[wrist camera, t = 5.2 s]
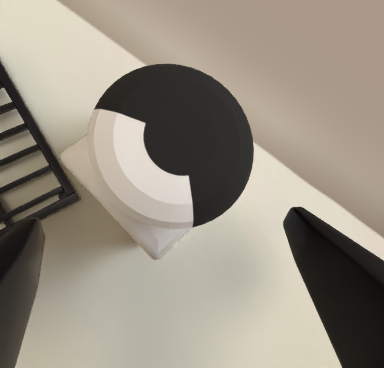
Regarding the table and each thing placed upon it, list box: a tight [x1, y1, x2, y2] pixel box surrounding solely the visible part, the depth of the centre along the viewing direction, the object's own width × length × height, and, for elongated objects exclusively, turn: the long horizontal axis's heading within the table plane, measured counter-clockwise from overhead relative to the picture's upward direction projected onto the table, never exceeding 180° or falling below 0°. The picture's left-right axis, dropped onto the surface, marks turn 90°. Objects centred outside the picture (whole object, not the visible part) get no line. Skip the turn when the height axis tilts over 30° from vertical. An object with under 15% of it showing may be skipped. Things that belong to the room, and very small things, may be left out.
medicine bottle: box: [60, 64, 254, 260], centre depth 14 cm, size 7×7×12 cm
